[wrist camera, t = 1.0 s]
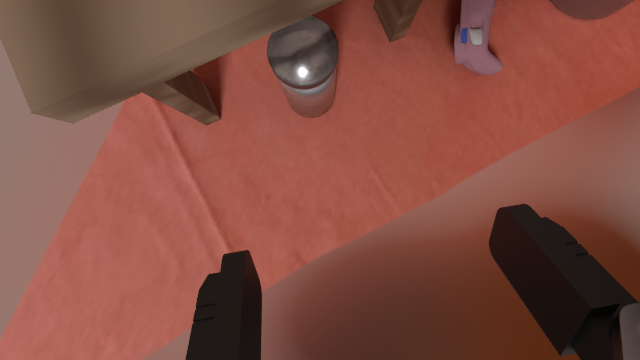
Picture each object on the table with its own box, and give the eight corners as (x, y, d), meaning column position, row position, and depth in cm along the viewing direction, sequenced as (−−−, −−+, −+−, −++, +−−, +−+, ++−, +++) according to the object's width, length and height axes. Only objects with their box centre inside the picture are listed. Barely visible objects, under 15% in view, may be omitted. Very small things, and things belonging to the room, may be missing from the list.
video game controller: (459, -11, 36) (450, -55, 30) (509, -20, 34) (510, -70, 27) (452, 82, 36) (442, 57, 29) (502, 78, 33) (502, 50, 27)
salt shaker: (323, 62, 34) (320, 3, 23) (343, 106, 34) (349, 67, 23) (279, 82, 34) (256, 32, 23) (298, 126, 34) (284, 96, 23)
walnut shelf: (388, 0, 34) (492, -335, 12) (421, 71, 34) (587, -141, 12) (191, 89, 35) (-49, -81, 13) (222, 161, 34) (31, 112, 12)
